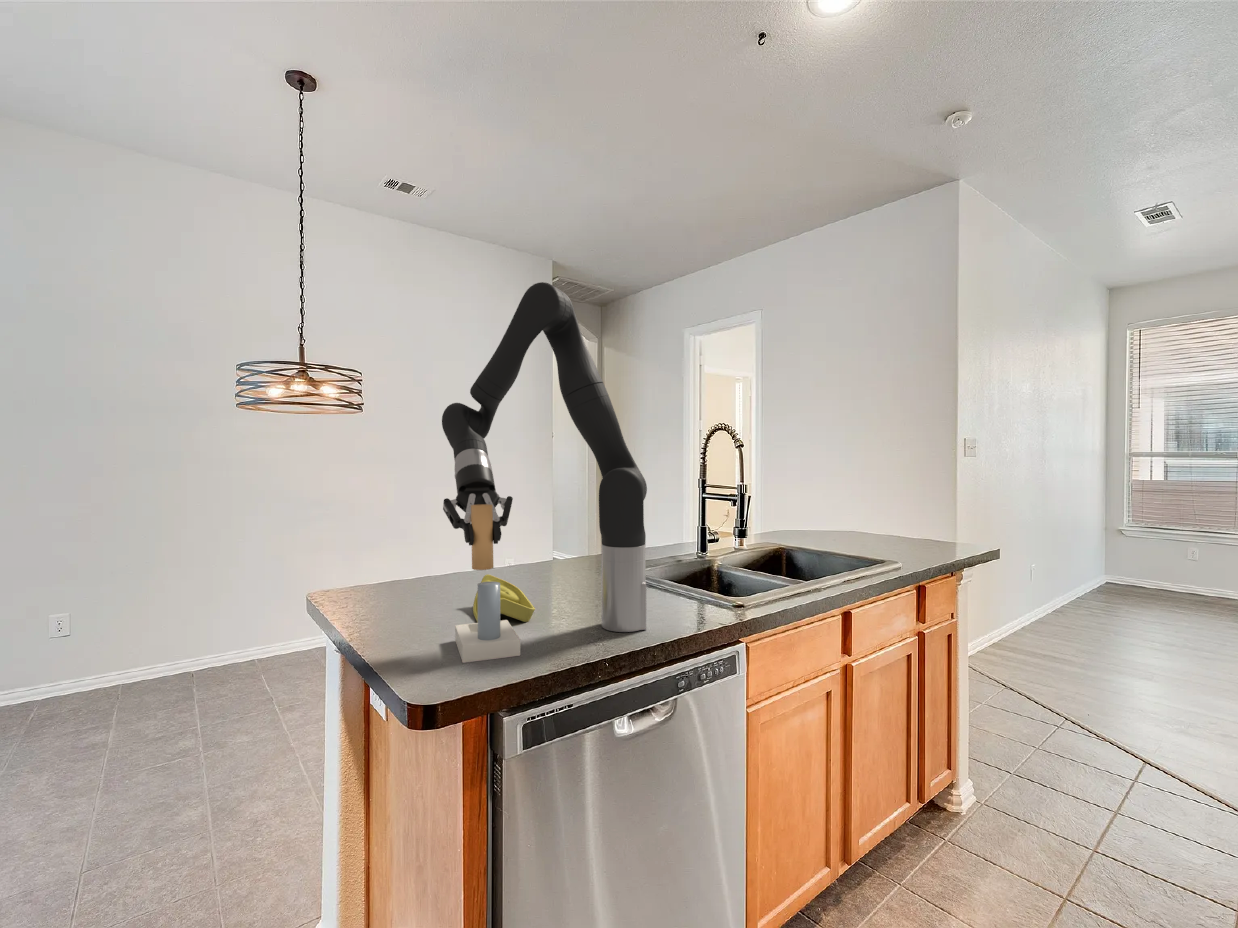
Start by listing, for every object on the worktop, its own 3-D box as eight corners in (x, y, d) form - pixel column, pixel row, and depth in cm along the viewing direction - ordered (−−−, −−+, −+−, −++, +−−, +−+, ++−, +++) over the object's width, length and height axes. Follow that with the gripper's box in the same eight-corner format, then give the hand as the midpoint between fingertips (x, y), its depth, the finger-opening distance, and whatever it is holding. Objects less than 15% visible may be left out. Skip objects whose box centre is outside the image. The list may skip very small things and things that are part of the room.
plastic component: (537, 611, 125) (495, 595, 121) (522, 643, 124) (479, 628, 120) (518, 585, 143) (481, 571, 139) (504, 613, 142) (467, 599, 139)
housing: (455, 640, 112) (455, 575, 112) (507, 634, 116) (506, 571, 115) (462, 662, 100) (462, 589, 100) (520, 655, 103) (520, 585, 103)
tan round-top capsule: (495, 565, 112) (494, 504, 112) (491, 569, 108) (490, 505, 108) (474, 566, 112) (473, 504, 112) (469, 570, 108) (468, 506, 108)
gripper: (439, 463, 114) (445, 531, 103) (510, 462, 120) (524, 527, 108) (437, 489, 119) (443, 556, 108) (506, 486, 125) (519, 551, 113)
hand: (484, 541), depth 108 cm, fingers closed on tan round-top capsule, 4 cm apart
